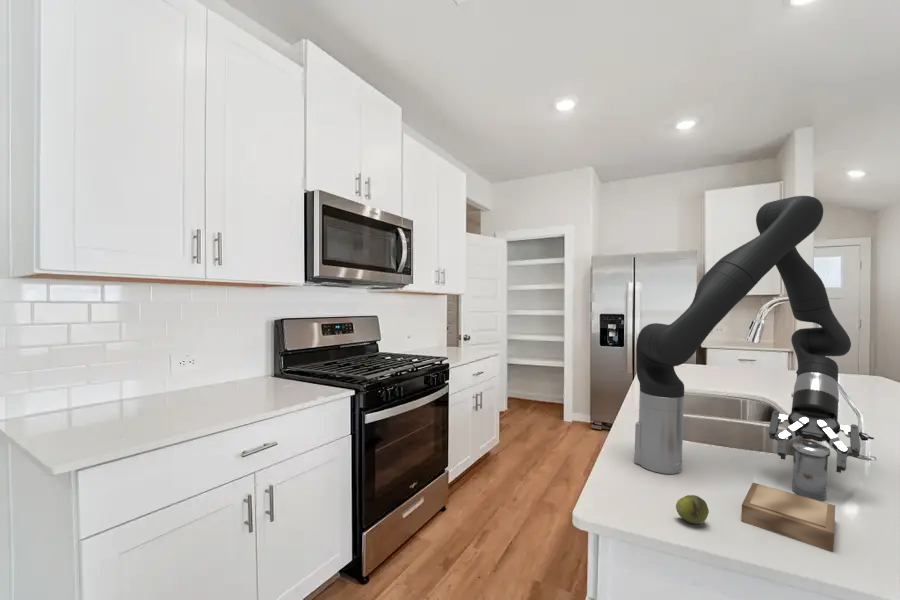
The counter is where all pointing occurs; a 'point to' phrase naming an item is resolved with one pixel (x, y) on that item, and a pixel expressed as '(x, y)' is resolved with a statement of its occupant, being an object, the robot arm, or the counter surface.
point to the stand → (790, 515)
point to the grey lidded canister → (810, 469)
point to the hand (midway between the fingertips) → (810, 464)
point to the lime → (692, 509)
